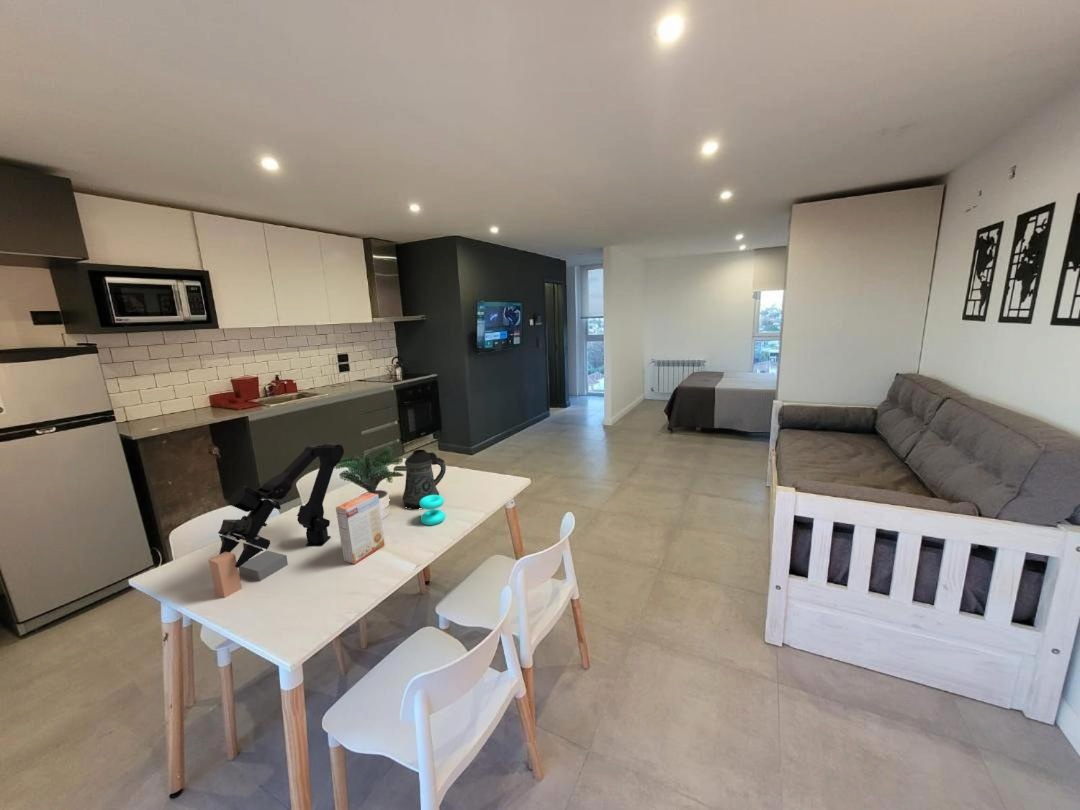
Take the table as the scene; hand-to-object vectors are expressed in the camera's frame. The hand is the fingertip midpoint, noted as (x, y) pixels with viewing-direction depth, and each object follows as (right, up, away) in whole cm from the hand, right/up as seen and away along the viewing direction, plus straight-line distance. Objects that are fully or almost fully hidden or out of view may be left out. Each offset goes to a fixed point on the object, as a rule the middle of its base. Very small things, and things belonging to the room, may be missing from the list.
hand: (227, 564), depth 132 cm
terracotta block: (0, -9, +1) cm, 9 cm away
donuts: (+54, +1, +44) cm, 70 cm away
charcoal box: (+4, -7, +12) cm, 14 cm away
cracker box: (+35, -4, +20) cm, 41 cm away
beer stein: (+45, +5, +63) cm, 78 cm away
